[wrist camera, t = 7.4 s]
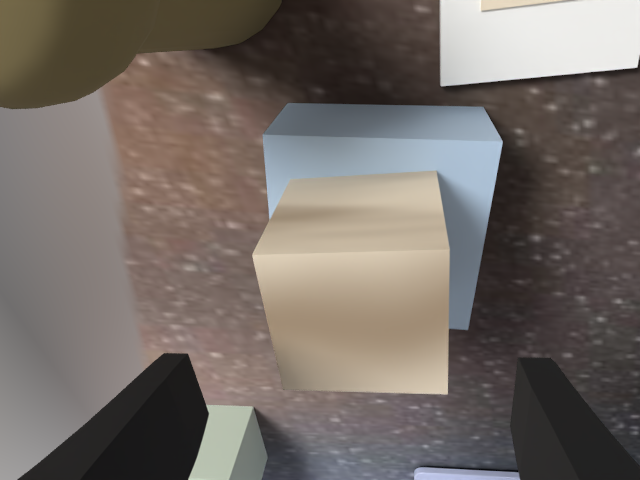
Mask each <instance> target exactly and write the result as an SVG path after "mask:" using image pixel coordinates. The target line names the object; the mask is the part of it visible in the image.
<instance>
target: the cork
mask: <svg viewBox="0 0 640 480" xmlns="http://www.w3.org/2000/svg"><path fill="white" fill-rule="evenodd" d="M281 2H282V0H0V107H4V108H9V109H28V108H40V107H45V106H51V105H56V104H61V103H66V102H72V101H75V100H78V99H80V98H82V97H84V96H86V95H89V94H91V93H93V92H94V91H96V90H97V89H99V88H100V87H102V86H103V85H105V84H106V83H108V82H109V81H111V80H112V79H114V78H115V77H116V76H118V75H119V74H121V73H122V72H124V71H125V69H126V68H127V67H128V66H129V64H130V63H131V62H132V60H133V59H134V57H135V56H136V54H137V53H152V52H167V51H183V50H198V49H213V48H220V47H225V46H230V45H235V44H239V43H242V42H243V41H245V40H246V39H248V38H250V37H251V36H253V35H254V34H256V33H258V32H259V31H261V30H262V29H263V28H264V27H265V25H266V24H267V23H268V22H269V20H270V19H271V18H272V16H273V15H274V14H275V13H276V11H277V10H278V9H279V7H280V5H281Z"/></svg>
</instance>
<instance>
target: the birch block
mask: <svg viewBox="0 0 640 480" xmlns="http://www.w3.org/2000/svg"><path fill="white" fill-rule="evenodd" d="M252 257H253V261H254V265H255V270H256V274H257V278H258V283H259V287H260V291H261V296H262V300H263V304H264V309H265V313H266V317H267V322H268V326H269V330H270V335H271V339H272V343H273V348H274V352H275V356H276V361H277V365H278V370H279V374H280V378H281V383H282V387H283V390H309V391H345V392H381V393H417V394H448V337H449V267H450V248H449V242H448V236H447V230H446V224H445V218H444V212H443V206H442V200H441V194H440V189H439V183H438V177H437V171H420V172H403V173H386V174H369V175H352V176H335V177H318V178H302V179H290V181H289V183H288V185H287V187H286V189H285V191H284V193H283V195H282V197H281V199H280V201H279V203H278V205H277V207H276V209H275V211H274V213H273V215H272V217H271V219H270V221H269V223H268V225H267V227H266V228H265V230H264V232H263V234H262V236H261V238H260V240H259V242H258V244H257V246H256V248H255V250H254V252H253V254H252Z"/></svg>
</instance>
